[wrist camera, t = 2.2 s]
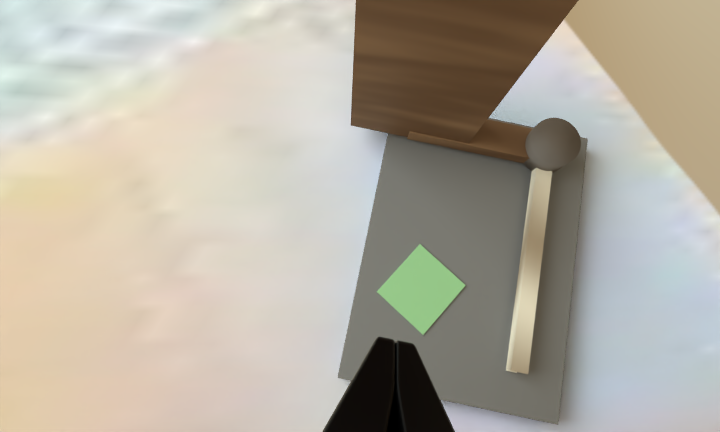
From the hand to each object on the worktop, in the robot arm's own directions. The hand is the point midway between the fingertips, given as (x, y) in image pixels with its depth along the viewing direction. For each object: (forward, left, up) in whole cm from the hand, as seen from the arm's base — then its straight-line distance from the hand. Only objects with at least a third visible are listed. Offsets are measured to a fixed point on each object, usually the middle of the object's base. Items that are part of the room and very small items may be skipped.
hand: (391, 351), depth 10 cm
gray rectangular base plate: (+2, -6, -13) cm, 14 cm away
